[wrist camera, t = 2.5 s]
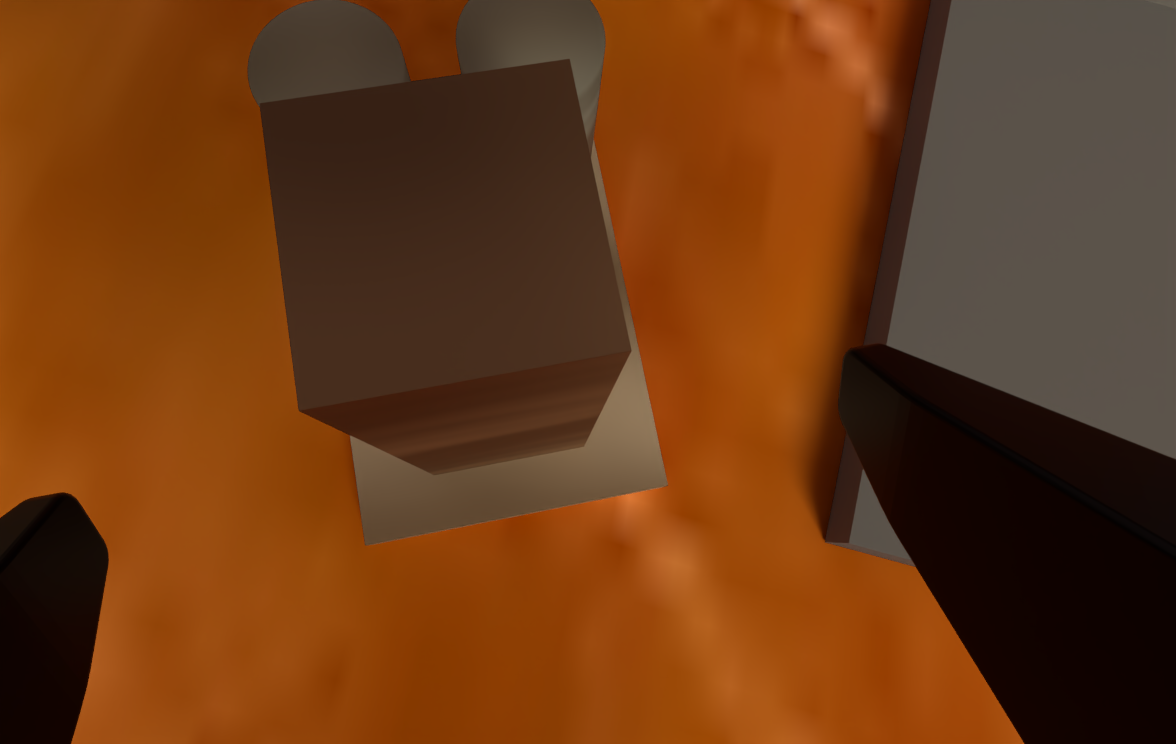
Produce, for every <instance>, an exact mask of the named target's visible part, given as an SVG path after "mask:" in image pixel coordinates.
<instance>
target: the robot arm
mask: <svg viewBox="0 0 1176 744" xmlns="http://www.w3.org/2000/svg"><path fill="white" fill-rule="evenodd" d="M838 410H839V415H840V419H841V421H842V424H843V426H844V428H845V430H846V432H847V435H848V437H849V439H850V441H851V443H852V445H853V448H854V450H855V452H856V454H857V456H858V458H859V460H860V463H861V465H862V467H863V469H864V471H865V473H866V475H867V478H868V480H869V482H870V484H871V486H872V488H873V491H874V493H875V495H876V497H877V499H878V501H879V503H880V506H881V508H882V510H883V512H884V514H885V516H886V518H887V520H888V522H889V523H890V525H891V527H892V529H893V530H894V532H895V534H896V535H897V537H898V539H899V541H900V542H901V544H902V545H903V547H904V549H905V550H906V552H907V554H908V555H909V557H910V558H911V560H912V562H913V563H914V565H915V567H916V568H917V570H918V571H919V573H920V575H921V576H922V578H923V580H924V581H925V583H926V584H927V586H928V588H929V589H930V591H931V593H932V594H933V596H934V597H935V599H936V601H937V602H938V604H939V606H940V607H941V609H942V610H943V612H944V614H945V615H946V617H947V619H948V620H949V622H950V623H951V625H952V627H953V628H954V630H955V632H956V633H957V635H958V636H959V638H960V640H961V641H962V643H963V645H964V646H965V648H966V649H967V651H968V653H969V654H970V656H971V658H972V659H973V661H974V662H975V664H976V666H977V667H978V669H979V671H980V672H981V674H982V675H983V677H984V679H985V680H986V682H987V684H988V685H989V687H990V688H991V690H992V692H993V693H994V695H995V697H996V698H997V700H998V701H999V703H1000V705H1001V706H1002V708H1003V710H1004V711H1005V713H1006V714H1007V716H1008V718H1009V719H1010V721H1011V722H1012V724H1013V726H1014V727H1015V729H1016V731H1017V732H1018V734H1019V735H1020V737H1021V739H1022V740H1023V742H1024V744H1176V459H1174V458H1172V457H1169V456H1167V455H1164V454H1162V453H1159V452H1157V451H1154V450H1152V449H1149V448H1146V447H1144V446H1141V445H1139V444H1136V443H1134V442H1131V441H1129V440H1126V439H1124V438H1121V437H1118V436H1116V435H1113V434H1111V433H1108V432H1106V431H1103V430H1101V429H1098V428H1096V427H1093V426H1091V425H1088V424H1085V423H1083V422H1080V421H1078V420H1075V419H1073V418H1070V417H1068V416H1065V415H1063V414H1060V413H1058V412H1055V411H1052V410H1050V409H1047V408H1045V407H1042V406H1040V405H1037V404H1035V403H1032V402H1030V401H1027V400H1025V399H1022V398H1019V397H1017V396H1014V395H1012V394H1009V393H1007V392H1004V391H1002V390H999V389H997V388H994V387H992V386H989V385H986V384H984V383H981V382H979V381H976V380H974V379H971V378H969V377H966V376H964V375H961V374H958V373H956V372H953V371H951V370H948V369H946V368H943V367H941V366H938V365H936V364H933V363H931V362H928V361H925V360H923V359H920V358H918V357H915V356H913V355H910V354H908V353H905V352H903V351H900V350H898V349H895V348H892V347H890V346H887V345H885V344H882V343H874V344H869V345H864V346H858V347H853V348H850V349H849V350H848V351H847V352H846V353H845V355H844V358H843V364H842V373H841V382H840V390H839V399H838ZM108 561H109V559H108V550H107V547H106V544H105V542H104V540H103V538H102V537H101V535H100V534H99V532H98V530H97V529H96V527H95V526H94V524H93V523H92V521H91V520H90V518H89V517H88V515H87V514H86V512H85V510H84V509H83V507H82V506H81V504H80V503H79V501H78V500H77V499H76V498H75V497H74V496H72V495H71V494H68V493H64V492H63V493H56V494H50V495H45V496H39V497H34V498H30V499H27V500H25V501H23V502H21V503H20V504H19V505H17V506H16V507H15V508H13V509H12V510H10V511H9V512H8V513H6V514H5V515H4V516H2V517H1V518H0V744H71V742H72V738H73V735H74V732H75V728H76V725H77V721H78V718H79V714H80V711H81V707H82V703H83V700H84V696H85V692H86V688H87V683H88V679H89V674H90V669H91V664H92V658H93V652H94V646H95V640H96V634H97V628H98V622H99V617H100V611H101V605H102V599H103V593H104V587H105V581H106V575H107V569H108Z"/></svg>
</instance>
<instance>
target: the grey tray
mask: <svg viewBox="0 0 1176 744" xmlns="http://www.w3.org/2000/svg"><path fill="white" fill-rule="evenodd" d="M874 343H882V344H885V345H887V346H890V347H892V348H895V349H898V350H900V351H903V352H905V353H908V354H910V355H913V356H915V357H918V358H920V359H923V360H925V361H928V362H931V363H933V364H936V365H938V366H941V367H943V368H946V369H948V370H951V371H953V372H956V373H958V374H961V375H964V376H966V377H969V378H971V379H974V380H976V381H979V382H981V383H984V384H986V385H989V386H992V387H994V388H997V389H999V390H1002V391H1004V392H1007V393H1009V394H1012V395H1014V396H1017V397H1019V398H1022V399H1025V400H1027V401H1030V402H1032V403H1035V404H1037V405H1040V406H1042V407H1045V408H1047V409H1050V410H1052V411H1055V412H1058V413H1060V414H1063V415H1065V416H1068V417H1070V418H1073V419H1075V420H1078V421H1080V422H1083V423H1085V424H1088V425H1091V426H1093V427H1096V428H1098V429H1101V430H1103V431H1106V432H1108V433H1111V434H1113V435H1116V436H1118V437H1121V438H1124V439H1126V440H1129V441H1131V442H1134V443H1136V444H1139V445H1141V446H1144V447H1146V448H1149V449H1152V450H1154V451H1157V452H1159V453H1162V454H1164V455H1167V456H1169V457H1172V458H1174V459H1176V0H931V2H930V7H929V13H928V18H927V23H926V28H925V33H924V38H923V43H922V48H921V53H920V59H919V64H918V69H917V74H916V79H915V84H914V89H913V94H912V99H911V105H910V110H909V115H908V120H907V125H906V130H905V135H904V140H903V146H902V151H901V156H900V161H899V166H898V171H897V176H896V181H895V186H894V192H893V197H892V202H891V207H890V212H889V217H888V222H887V227H886V232H885V238H884V243H883V248H882V253H881V258H880V263H879V268H878V273H877V278H876V284H875V289H874V294H873V299H872V304H871V309H870V314H869V319H868V324H867V330H866V335H865V340H864V345H869V344H874ZM864 345H863V346H864ZM825 542H826V543H830V544H834V545H838V546H841V547H845V548H849V549H852V550H856V551H860V552H863V553H867V554H871V555H874V556H878V557H882V558H885V559H889V560H893V561H896V562H900V563H904V564H907V565H911V566H915V565H914V563H913V562H912V560H911V558H910V557H909V555H908V554H907V552H906V550H905V549H904V547H903V545H902V544H901V542H900V541H899V539H898V537H897V535H896V534H895V532H894V530H893V529H892V527H891V525H890V523H889V522H888V520H887V518H886V516H885V514H884V512H883V510H882V508H881V506H880V503H879V501H878V499H877V497H876V495H875V493H874V491H873V488H872V486H871V484H870V482H869V480H868V478H867V475H866V473H865V471H864V469H863V467H862V465H861V463H860V460H859V458H858V456H857V454H856V452H855V450H854V448H853V445H852V443H851V441H850V439H849V437H848V435H847V432H846V437H845V442H844V447H843V452H842V457H841V462H840V468H839V473H838V478H837V483H836V488H835V493H834V498H833V503H832V508H831V514H830V519H829V524H828V529H827V534H826V539H825Z"/></svg>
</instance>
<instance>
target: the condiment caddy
mask: <svg viewBox="0 0 1176 744" xmlns="http://www.w3.org/2000/svg"><path fill="white" fill-rule="evenodd" d="M456 47H457V53H458V59H459V64H460V70H461V74H460V75H453V76H446V77H439V78H432V79H425V80H418V81H410V77H409V74H408V71H407V67H406V64H405V60H404V57H403V54H402V50H401V47H400V45H399V42H398V40H397V38H396V36H395V35H394V33H393V31H392V30H391V29H390V27H389V26H388V25H387V24H386V23H385V22H384V21H383V20H382V19H381V18H380V17H379V16H377V15H376V14H374V13H373V12H371V11H370V10H368V9H366V8H364V7H362V6H359V5H357V4H354V3H350V2H347V1H341V0H315V1H310V2H305V3H302V4H299V5H296V6H294V7H291V8H289V9H287V10H286V11H284V12H282V13H280V14H279V15H278V16H276V17H275V18H274V19H272V20H271V21H270V22H269V23H268V24H267V25H266V26H265V27H264V29H263V30H262V31H261V32H260V34H259V35H258V37H257V39H256V40H255V42H254V44H253V47H252V49H251V52H250V56H249V61H248V80H249V85H250V89H251V91H252V94H253V97H254V98H255V100H256V102H257V104H258V105H259V107H260V111H261V119H262V127H263V134H264V142H265V150H266V158H267V166H268V174H269V181H270V189H271V197H272V205H273V213H274V221H275V228H276V236H277V244H278V252H279V260H280V268H281V275H282V283H283V291H284V299H285V307H286V315H287V322H288V330H289V338H290V346H291V354H292V362H293V369H294V377H295V385H296V393H297V401H298V409H299V411H300V412H302V413H304V414H307V415H309V416H311V417H313V418H315V419H317V420H319V421H321V422H323V423H325V424H328V425H330V426H332V427H334V428H336V429H338V430H340V431H342V432H344V433H346V434H349V435H350V440H351V447H352V454H353V462H354V469H355V476H356V483H357V490H358V497H359V505H360V512H361V519H362V526H363V533H364V541H365V545H374V544H379V543H384V542H389V541H394V540H399V539H404V538H409V537H414V536H419V535H424V534H429V533H434V532H439V531H445V530H450V529H455V528H460V527H465V526H470V525H475V524H480V523H485V522H490V521H495V520H500V519H505V518H510V517H515V516H520V515H525V514H530V513H535V512H540V511H545V510H550V509H555V508H561V507H566V506H571V505H576V504H581V503H586V502H591V501H596V500H601V499H606V498H611V497H616V496H621V495H626V494H631V493H636V492H641V491H646V490H651V489H656V488H661V487H665V486H668V484H667V479H666V474H665V470H664V465H663V460H662V456H661V451H660V446H659V442H658V437H657V432H656V428H655V423H654V418H653V414H652V409H651V404H650V400H649V395H648V390H647V386H646V381H645V376H644V371H643V367H642V362H641V357H640V353H639V348H638V343H637V339H636V334H635V329H634V325H633V320H632V315H631V311H630V306H629V301H628V297H627V292H626V287H625V283H624V278H623V273H622V269H621V264H620V259H619V255H618V250H617V245H616V241H615V236H614V231H613V227H612V222H611V217H610V213H609V208H608V203H607V199H606V194H605V189H604V185H603V180H602V175H601V171H600V166H599V161H598V157H597V152H596V147H595V143H594V130H595V122H596V115H597V107H598V99H599V91H600V83H601V76H602V68H603V60H604V52H605V31H604V26H603V23H602V20H601V17H600V15H599V13H598V11H597V10H596V8H595V6H594V5H593V3H592V2H591V1H590V0H469V1H468V3H467V4H466V5H465V7H464V9H463V11H462V13H461V15H460V18H459V21H458V24H457V29H456Z"/></svg>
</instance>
